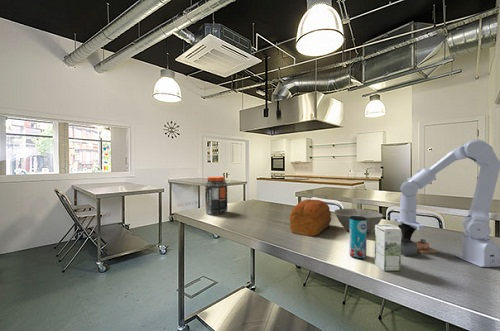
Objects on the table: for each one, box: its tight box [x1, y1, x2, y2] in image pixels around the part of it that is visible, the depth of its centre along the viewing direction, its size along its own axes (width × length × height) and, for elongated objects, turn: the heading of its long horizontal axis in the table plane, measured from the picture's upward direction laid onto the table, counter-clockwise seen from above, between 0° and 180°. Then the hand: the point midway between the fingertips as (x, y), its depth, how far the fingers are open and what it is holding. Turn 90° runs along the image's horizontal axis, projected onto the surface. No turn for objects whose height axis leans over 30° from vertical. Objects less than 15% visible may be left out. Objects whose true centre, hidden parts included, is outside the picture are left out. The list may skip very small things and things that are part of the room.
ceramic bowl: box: [333, 208, 384, 233], centre depth 122 cm, size 22×23×10 cm
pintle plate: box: [417, 246, 439, 255], centre depth 96 cm, size 7×7×1 cm
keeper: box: [401, 236, 418, 257], centre depth 94 cm, size 8×5×5 cm, turn 4°
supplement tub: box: [204, 176, 228, 216], centre depth 167 cm, size 16×16×26 cm
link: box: [414, 238, 430, 249], centre depth 96 cm, size 14×4×3 cm, turn 88°
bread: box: [289, 198, 332, 237], centre depth 127 cm, size 16×27×16 cm, turn 146°
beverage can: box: [349, 216, 368, 260], centre depth 90 cm, size 6×6×15 cm
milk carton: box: [374, 223, 402, 272], centre depth 80 cm, size 6×6×14 cm
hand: (406, 242), depth 98 cm, fingers closed, pressing on link
